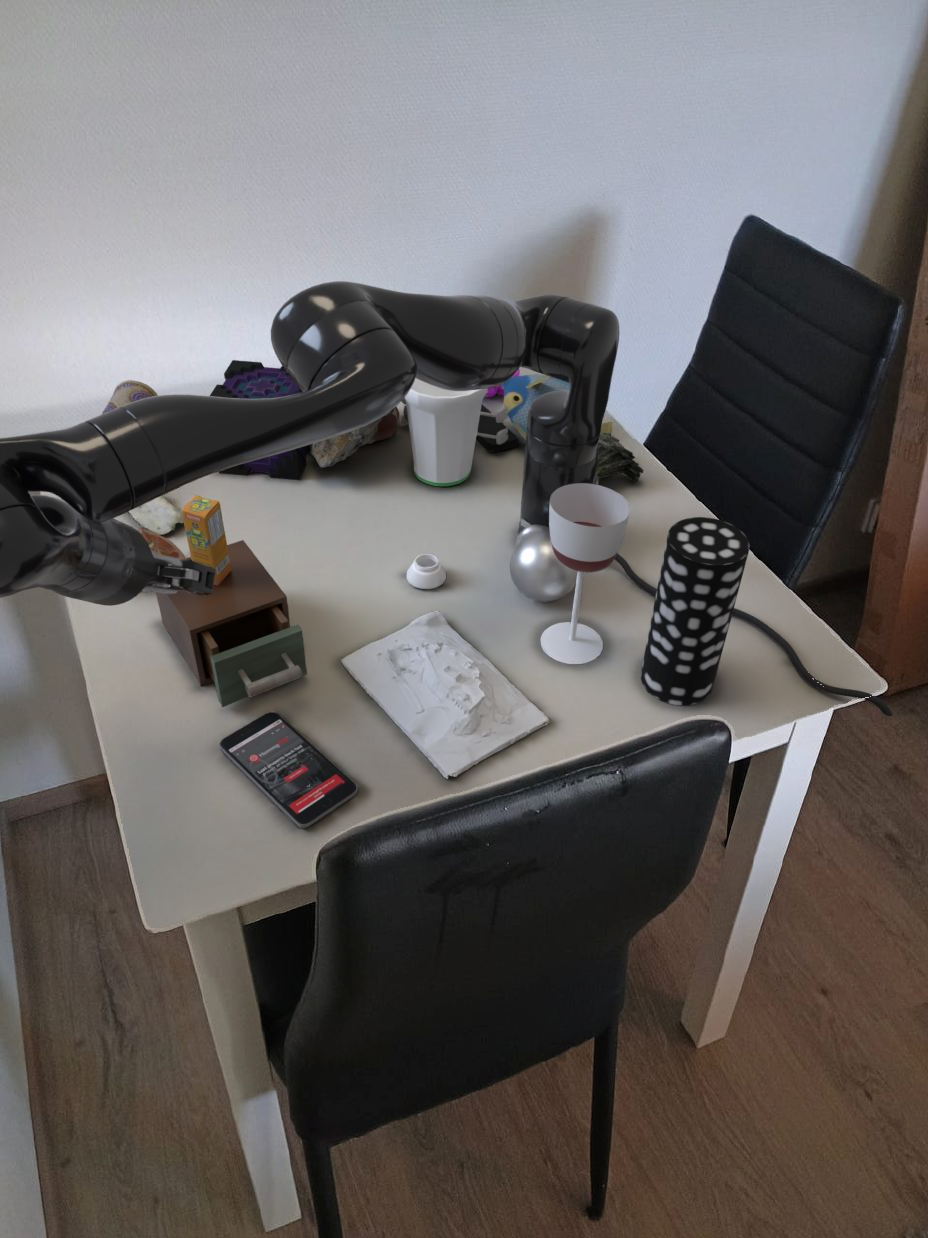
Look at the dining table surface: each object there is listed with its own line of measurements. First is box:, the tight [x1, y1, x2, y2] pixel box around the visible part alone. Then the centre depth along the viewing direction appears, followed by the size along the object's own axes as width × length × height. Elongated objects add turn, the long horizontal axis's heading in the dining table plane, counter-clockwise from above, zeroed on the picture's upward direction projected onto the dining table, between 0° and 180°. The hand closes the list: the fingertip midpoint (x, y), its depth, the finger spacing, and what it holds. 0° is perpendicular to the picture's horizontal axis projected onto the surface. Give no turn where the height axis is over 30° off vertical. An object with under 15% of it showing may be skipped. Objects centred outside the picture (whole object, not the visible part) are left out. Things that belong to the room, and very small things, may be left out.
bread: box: [374, 406, 400, 442], centre depth 156 cm, size 11×11×5 cm
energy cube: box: [209, 359, 310, 481], centre depth 147 cm, size 12×12×12 cm
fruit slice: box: [137, 526, 186, 560], centre depth 127 cm, size 8×7×5 cm
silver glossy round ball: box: [509, 525, 578, 602], centre depth 125 cm, size 9×10×10 cm
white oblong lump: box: [127, 495, 184, 536], centre depth 138 cm, size 12×5×4 cm
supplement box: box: [180, 494, 232, 586], centre depth 112 cm, size 3×3×10 cm
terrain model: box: [340, 610, 550, 780], centre depth 113 cm, size 17×23×5 cm
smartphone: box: [219, 710, 358, 829], centre depth 104 cm, size 7×1×15 cm
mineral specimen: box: [595, 433, 644, 483], centre depth 147 cm, size 15×13×10 cm
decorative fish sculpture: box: [500, 374, 613, 441], centre depth 154 cm, size 12×20×15 cm
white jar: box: [406, 553, 447, 590], centre depth 128 cm, size 5×3×5 cm
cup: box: [404, 378, 488, 487], centre depth 144 cm, size 12×12×15 cm
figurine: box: [399, 398, 509, 444], centre depth 154 cm, size 7×6×18 cm
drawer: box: [197, 605, 308, 708], centre depth 112 cm, size 15×10×7 cm, turn 32°
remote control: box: [476, 403, 518, 453], centre depth 158 cm, size 5×2×15 cm
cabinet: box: [155, 539, 291, 687], centre depth 117 cm, size 12×11×8 cm
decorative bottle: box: [101, 379, 159, 415], centre depth 146 cm, size 26×8×7 cm, turn 1°
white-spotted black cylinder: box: [640, 516, 751, 706], centre depth 110 cm, size 8×8×20 cm
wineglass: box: [539, 483, 631, 665], centre depth 114 cm, size 8×9×20 cm
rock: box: [310, 406, 397, 468], centre depth 144 cm, size 25×21×15 cm
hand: (161, 580), depth 101 cm, fingers open, 8 cm apart
